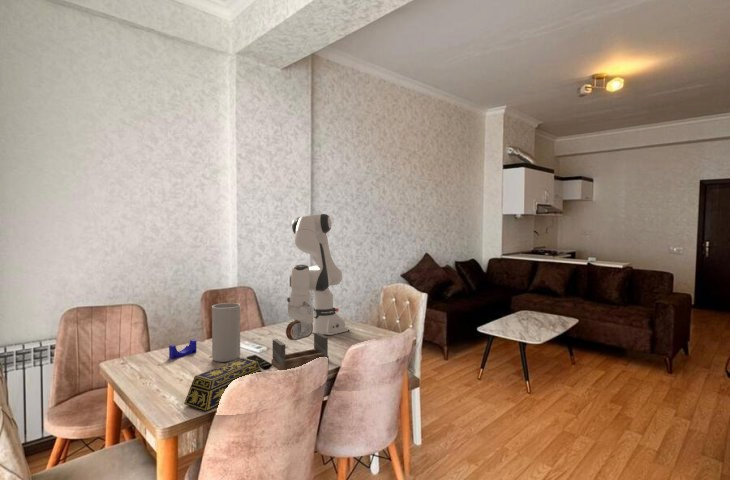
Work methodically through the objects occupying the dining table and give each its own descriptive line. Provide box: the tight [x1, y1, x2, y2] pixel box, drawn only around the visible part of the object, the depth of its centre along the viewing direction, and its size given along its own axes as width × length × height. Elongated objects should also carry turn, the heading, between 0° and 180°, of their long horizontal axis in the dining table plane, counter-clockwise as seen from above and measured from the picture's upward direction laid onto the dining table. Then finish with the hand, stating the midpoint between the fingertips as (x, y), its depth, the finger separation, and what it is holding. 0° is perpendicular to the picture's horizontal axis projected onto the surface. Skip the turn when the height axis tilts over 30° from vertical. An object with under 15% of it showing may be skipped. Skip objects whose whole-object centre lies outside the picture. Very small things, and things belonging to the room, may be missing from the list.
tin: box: [285, 320, 313, 341], centre depth 179 cm, size 15×3×8 cm, turn 143°
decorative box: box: [183, 357, 263, 412], centre depth 147 cm, size 11×30×9 cm, turn 152°
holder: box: [271, 332, 330, 371], centre depth 179 cm, size 24×10×11 cm, turn 124°
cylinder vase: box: [211, 302, 241, 363], centre depth 183 cm, size 12×12×25 cm
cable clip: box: [168, 339, 197, 360], centre depth 188 cm, size 12×4×6 cm, turn 145°
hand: (300, 330), depth 179 cm, fingers closed on tin, 3 cm apart
